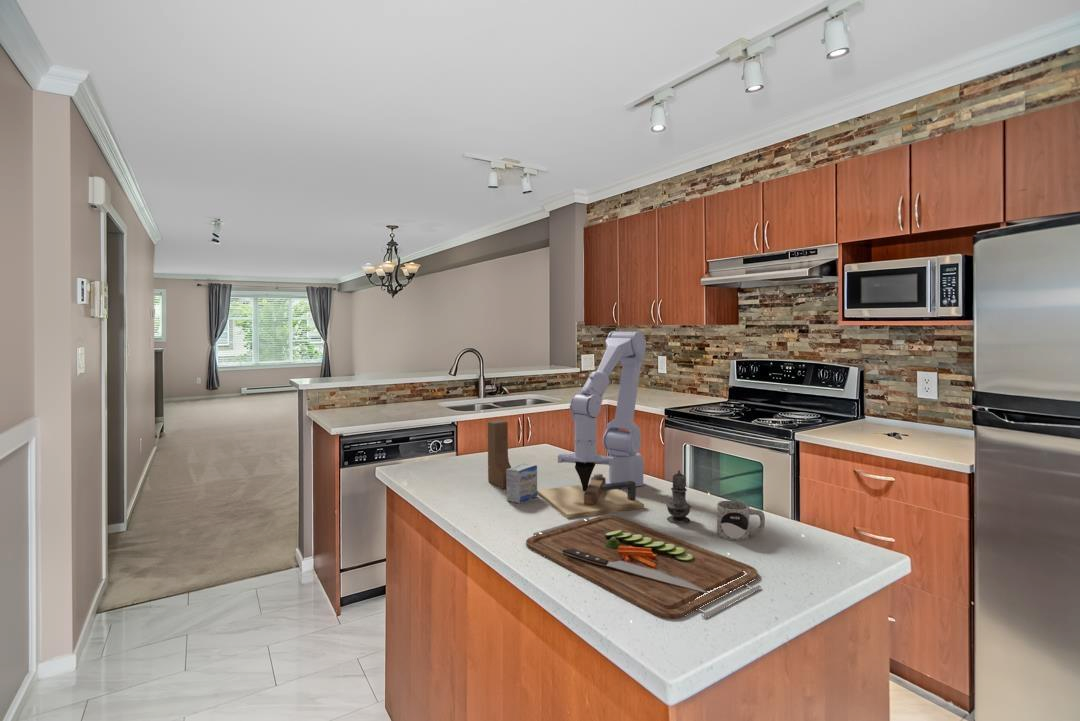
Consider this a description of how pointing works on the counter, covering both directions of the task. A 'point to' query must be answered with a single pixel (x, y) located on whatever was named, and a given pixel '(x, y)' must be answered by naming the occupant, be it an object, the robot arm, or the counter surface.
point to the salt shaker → (678, 501)
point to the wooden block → (498, 452)
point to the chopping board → (643, 564)
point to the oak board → (573, 505)
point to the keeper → (620, 485)
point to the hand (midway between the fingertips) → (585, 490)
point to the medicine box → (521, 482)
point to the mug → (736, 520)
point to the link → (594, 489)
